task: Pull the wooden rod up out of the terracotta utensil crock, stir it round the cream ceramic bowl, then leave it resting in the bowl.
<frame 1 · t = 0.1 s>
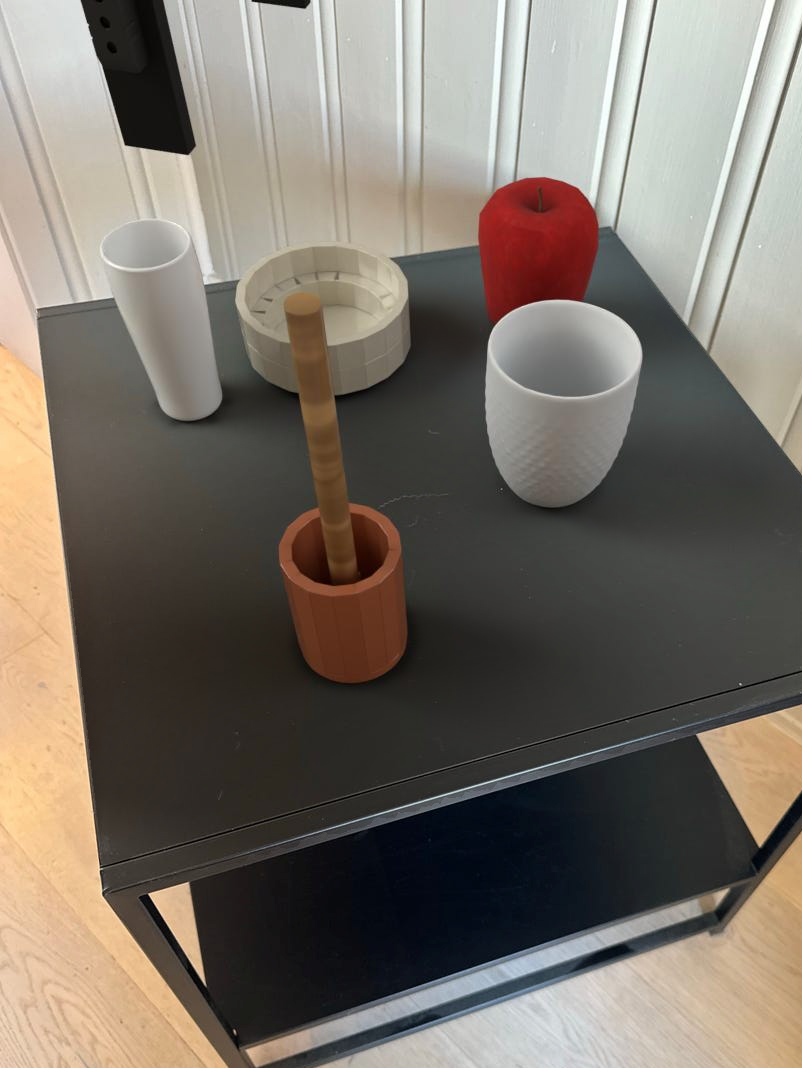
hand: (226, 68, 41), 36 cm above the table, tool pointing down, fingers open, 13 cm apart
apple: (531, 327, 88), on the table
mug: (545, 471, 78), on the table
bowl: (330, 348, 86), on the table
crock: (354, 638, 68), on the table
drinking glass: (193, 404, 81), on the table
wooden rod: (353, 631, 67), point 1 cm above the table, touching crock
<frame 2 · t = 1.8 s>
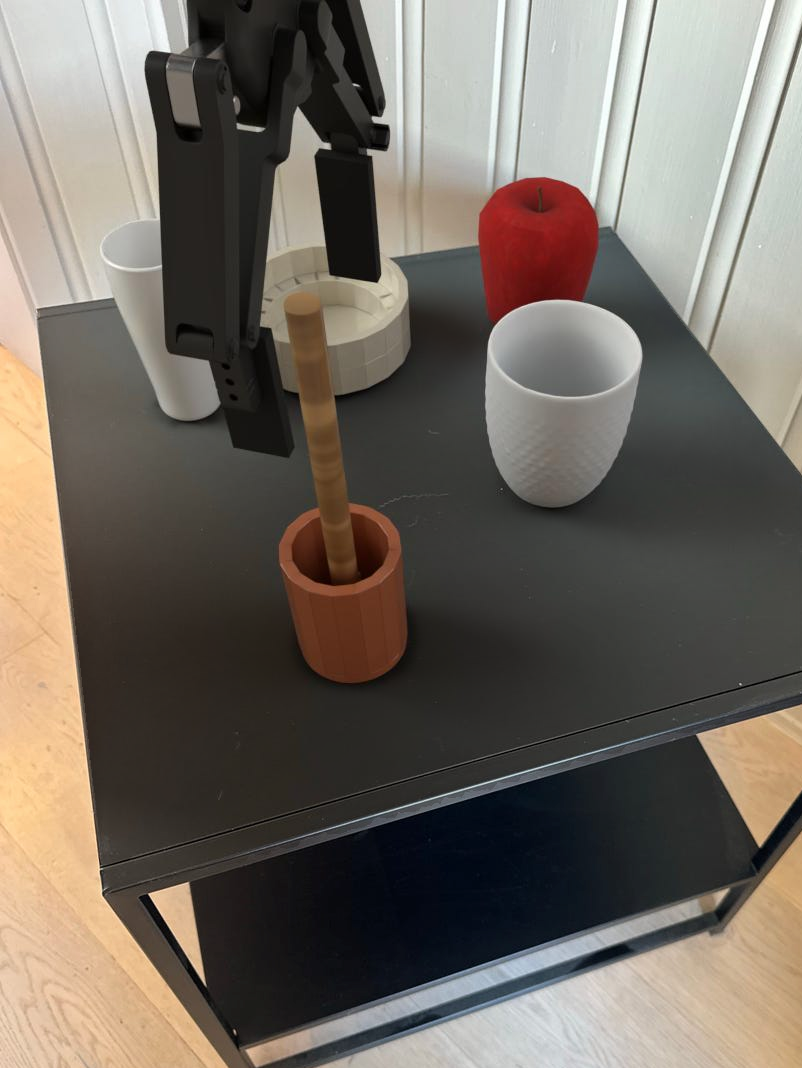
hand: (313, 355, 47), 25 cm above the table, tool pointing down, fingers open, 13 cm apart
nothing on the table moved.
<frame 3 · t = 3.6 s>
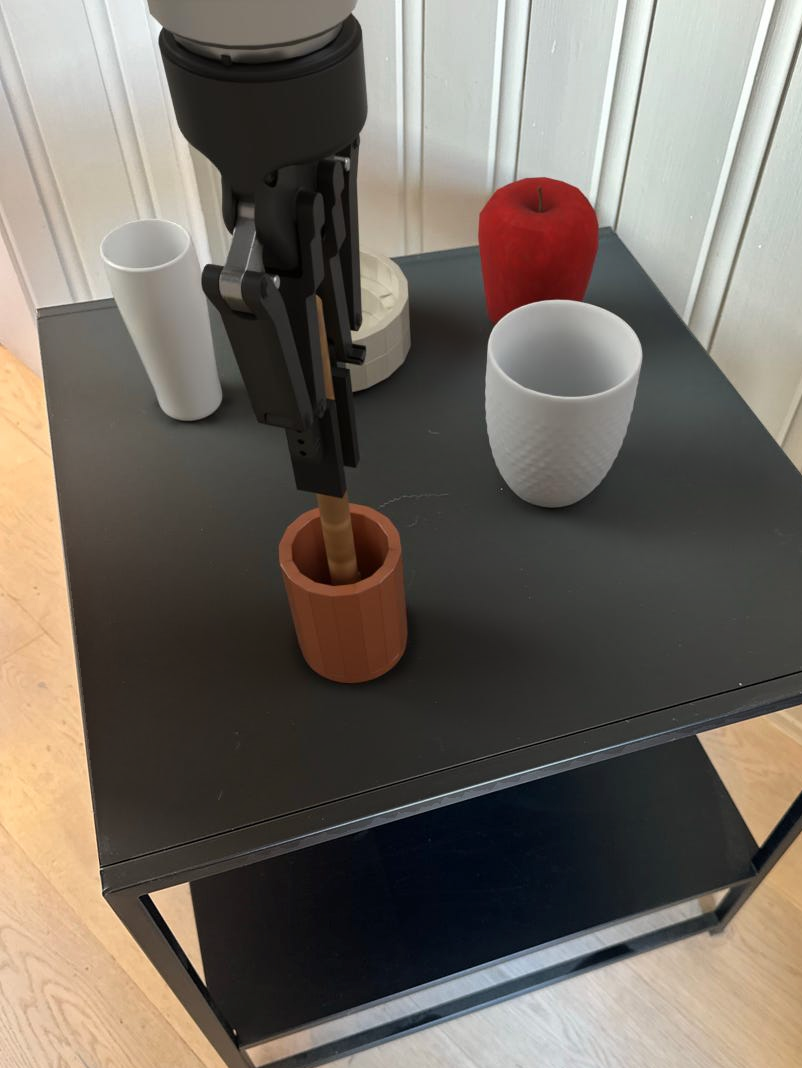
hand: (328, 473, 54), 16 cm above the table, tool pointing down, fingers closed on wooden rod, 2 cm apart
wooden rod: (353, 631, 67), point 1 cm above the table, touching crock, gripper
everything else where it was.
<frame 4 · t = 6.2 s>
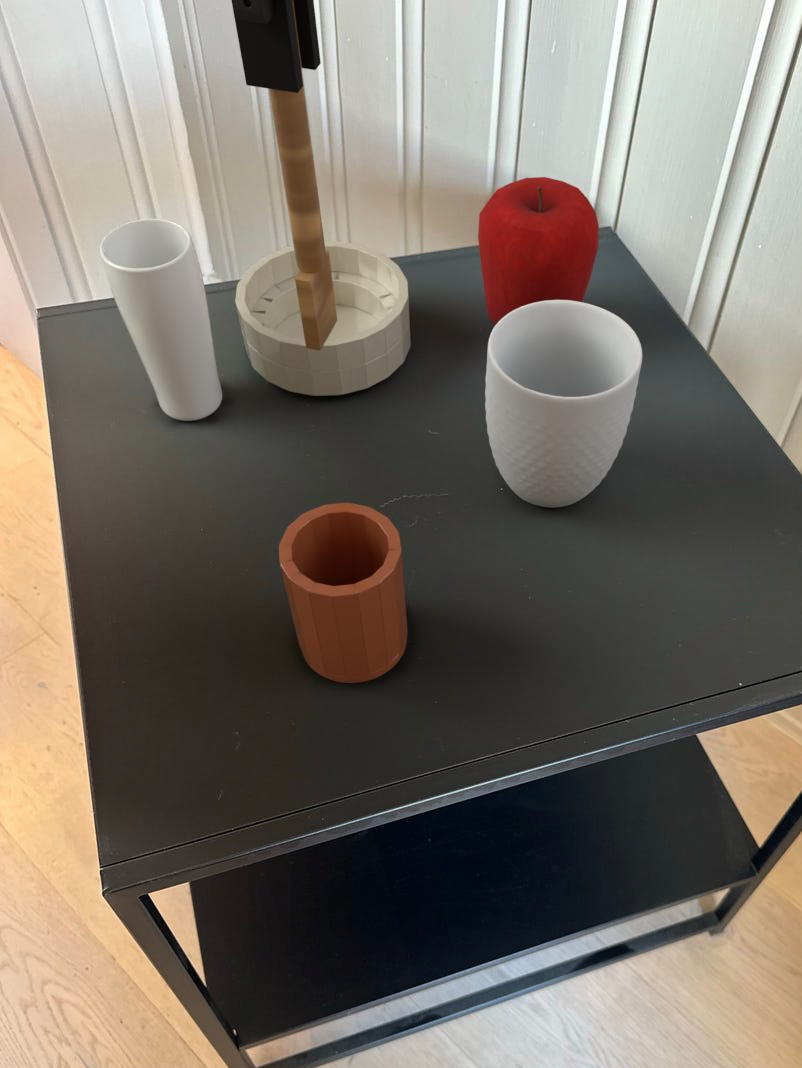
hand: (283, 73, 47), 33 cm above the table, tool pointing down, fingers closed on wooden rod, 2 cm apart
wooden rod: (322, 334, 60), point 17 cm above the table, touching gripper
everything else where it was.
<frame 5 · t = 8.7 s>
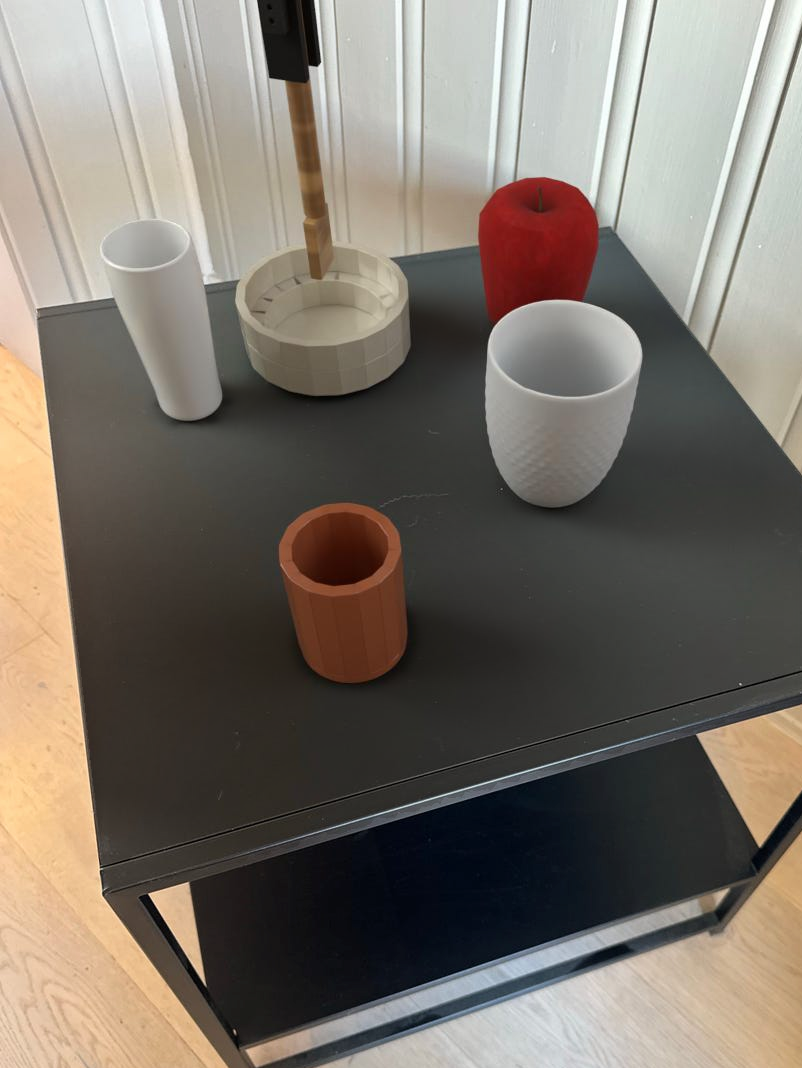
hand: (295, 69, 66), 24 cm above the table, tool pointing down, fingers closed on wooden rod, 2 cm apart
wooden rod: (322, 268, 79), point 8 cm above the table, touching gripper
everything else where it was.
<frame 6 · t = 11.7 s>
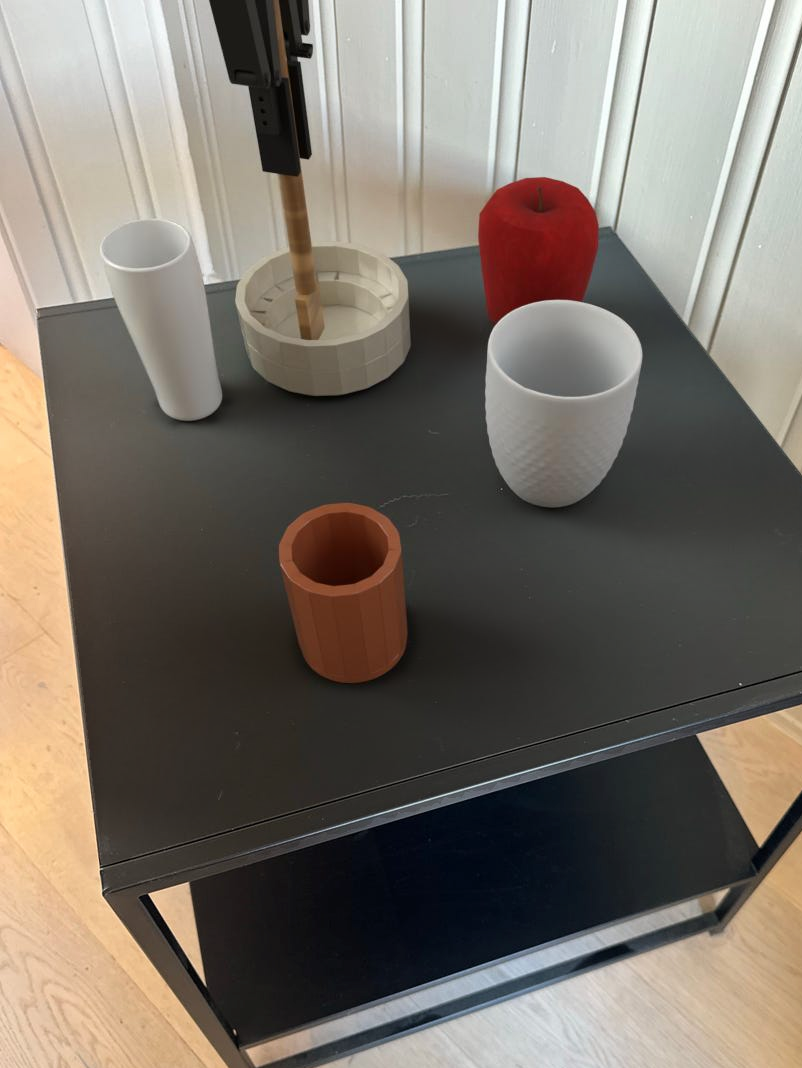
hand: (287, 162, 70), 18 cm above the table, tool pointing down, fingers closed on wooden rod, 2 cm apart
wooden rod: (313, 338, 83), point 2 cm above the table, touching gripper
everything else where it was.
when the fingers open (16 cm above the table, at t = 13.7 s): wooden rod stays where it is, resting on bowl.
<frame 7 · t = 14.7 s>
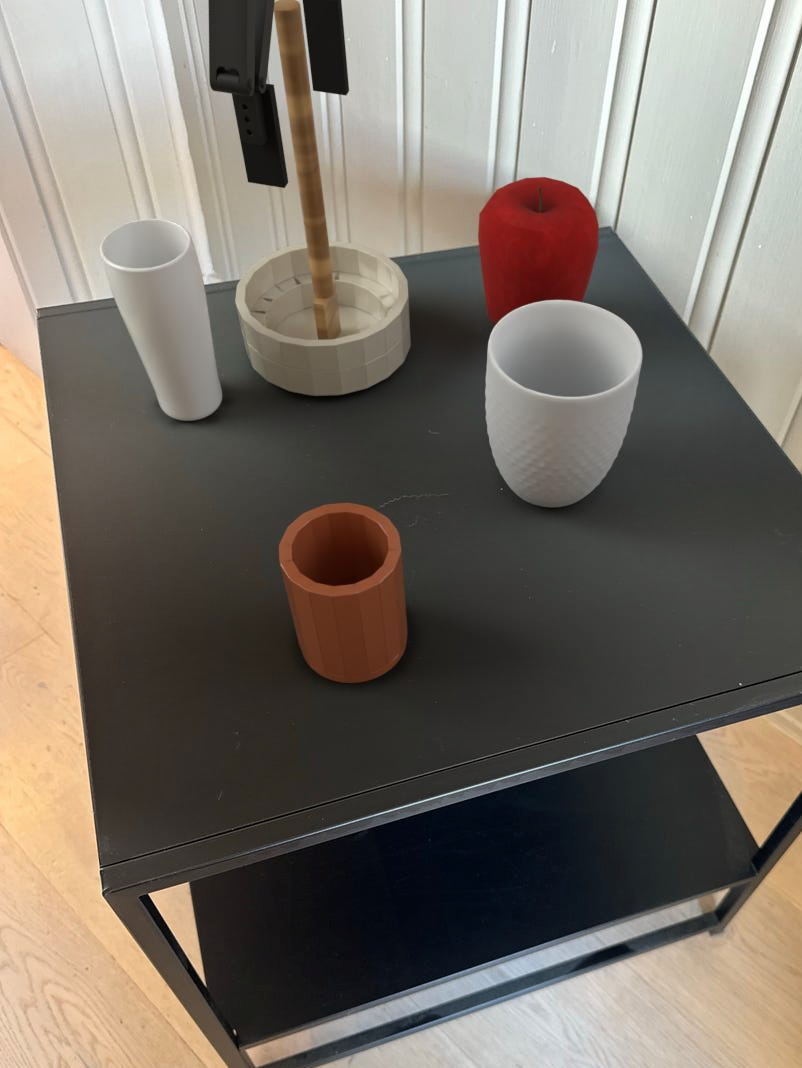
hand: (301, 134, 70), 19 cm above the table, tool pointing down, fingers open, 13 cm apart
wooden rod: (330, 340, 85), point 1 cm above the table, touching bowl
everything else where it was.
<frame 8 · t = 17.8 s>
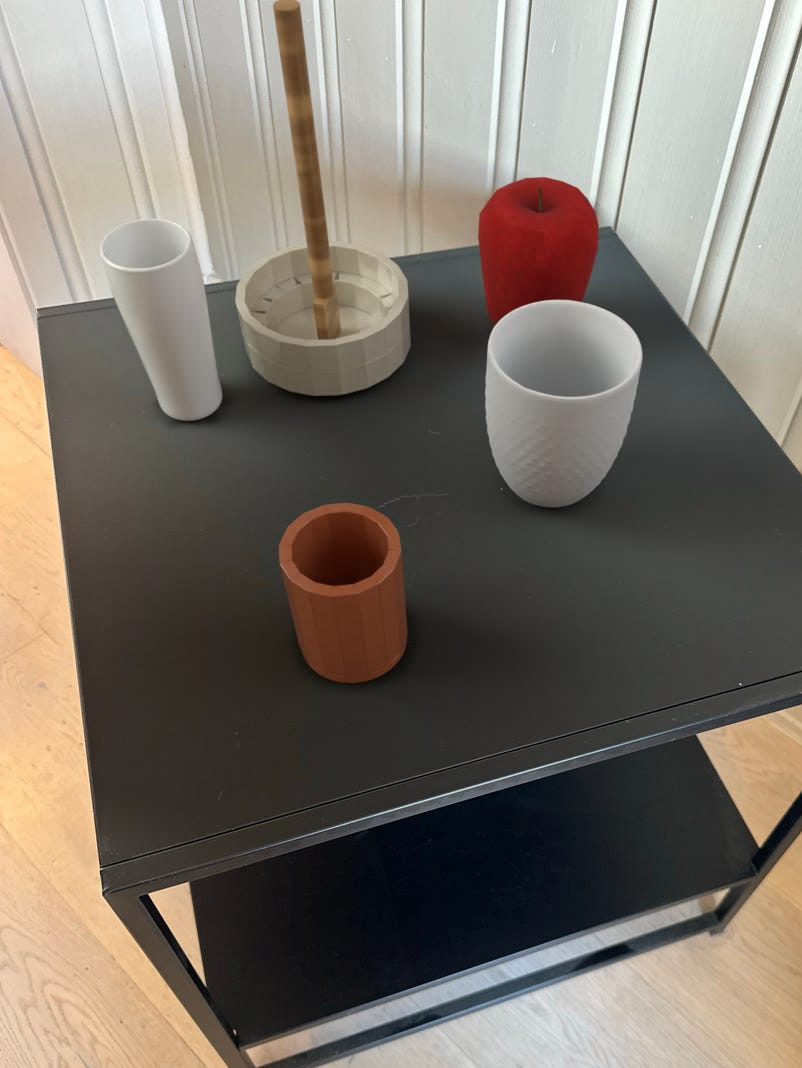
nothing on the table moved.
at the end: wooden rod inside the target area in the bowl (0.1 cm from its centre), point 0.8 cm above the bowl's base; the gripper is holding nothing; wooden rod moved 32.3 cm from its start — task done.
